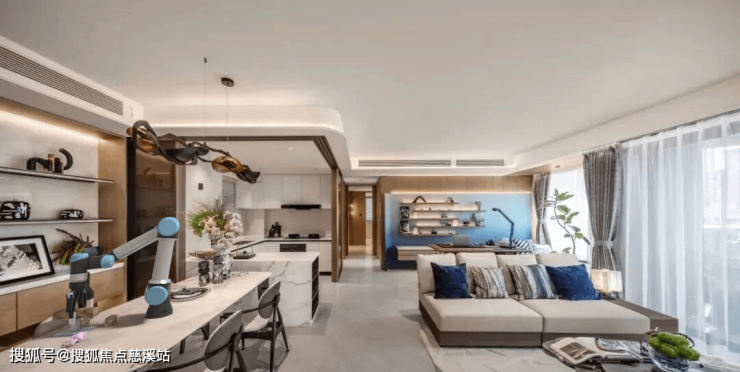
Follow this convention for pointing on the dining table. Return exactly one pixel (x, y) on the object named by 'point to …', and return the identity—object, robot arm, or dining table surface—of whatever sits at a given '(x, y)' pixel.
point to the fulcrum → (74, 329)
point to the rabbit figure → (74, 339)
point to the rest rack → (108, 321)
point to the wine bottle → (88, 293)
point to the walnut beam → (80, 313)
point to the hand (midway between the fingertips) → (75, 322)
